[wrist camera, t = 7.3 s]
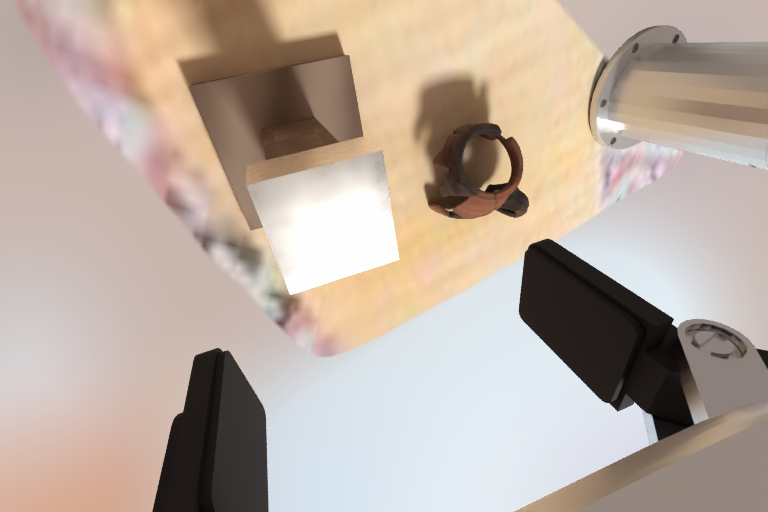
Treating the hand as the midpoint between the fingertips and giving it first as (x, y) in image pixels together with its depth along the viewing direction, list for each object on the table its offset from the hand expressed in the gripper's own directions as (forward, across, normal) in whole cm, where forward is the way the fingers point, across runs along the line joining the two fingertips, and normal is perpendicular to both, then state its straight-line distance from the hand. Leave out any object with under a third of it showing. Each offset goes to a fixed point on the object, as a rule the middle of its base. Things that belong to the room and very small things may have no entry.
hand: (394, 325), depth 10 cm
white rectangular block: (+22, +1, 0) cm, 22 cm away
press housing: (+24, +1, 0) cm, 24 cm away
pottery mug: (+25, -16, +7) cm, 30 cm away
